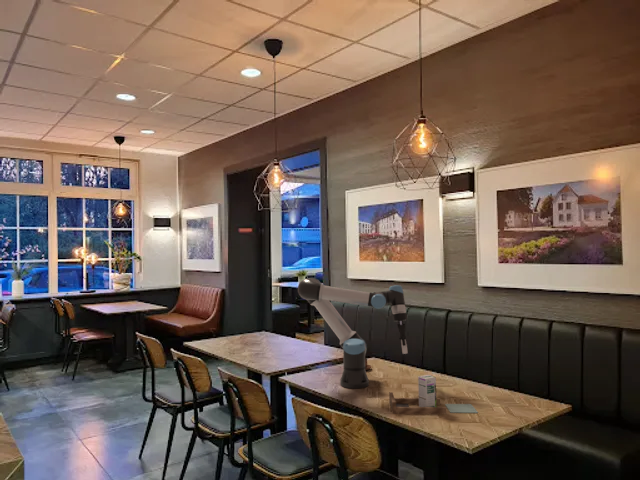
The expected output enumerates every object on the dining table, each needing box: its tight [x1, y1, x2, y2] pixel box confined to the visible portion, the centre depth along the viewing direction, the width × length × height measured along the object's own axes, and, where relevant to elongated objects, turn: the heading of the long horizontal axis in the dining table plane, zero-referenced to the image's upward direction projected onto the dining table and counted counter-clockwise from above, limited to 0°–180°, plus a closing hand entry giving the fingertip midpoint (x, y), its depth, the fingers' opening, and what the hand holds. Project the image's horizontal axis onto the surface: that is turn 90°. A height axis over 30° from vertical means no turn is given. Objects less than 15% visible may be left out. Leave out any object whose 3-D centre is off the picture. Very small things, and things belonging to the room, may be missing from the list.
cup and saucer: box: [365, 357, 372, 371], centre depth 299 cm, size 12×12×6 cm
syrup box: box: [417, 374, 438, 407], centre depth 224 cm, size 6×6×14 cm
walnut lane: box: [388, 391, 448, 415], centre depth 224 cm, size 24×15×5 cm, turn 87°
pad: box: [444, 403, 479, 414], centre depth 223 cm, size 12×12×1 cm
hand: (405, 352), depth 266 cm, fingers open, 13 cm apart
